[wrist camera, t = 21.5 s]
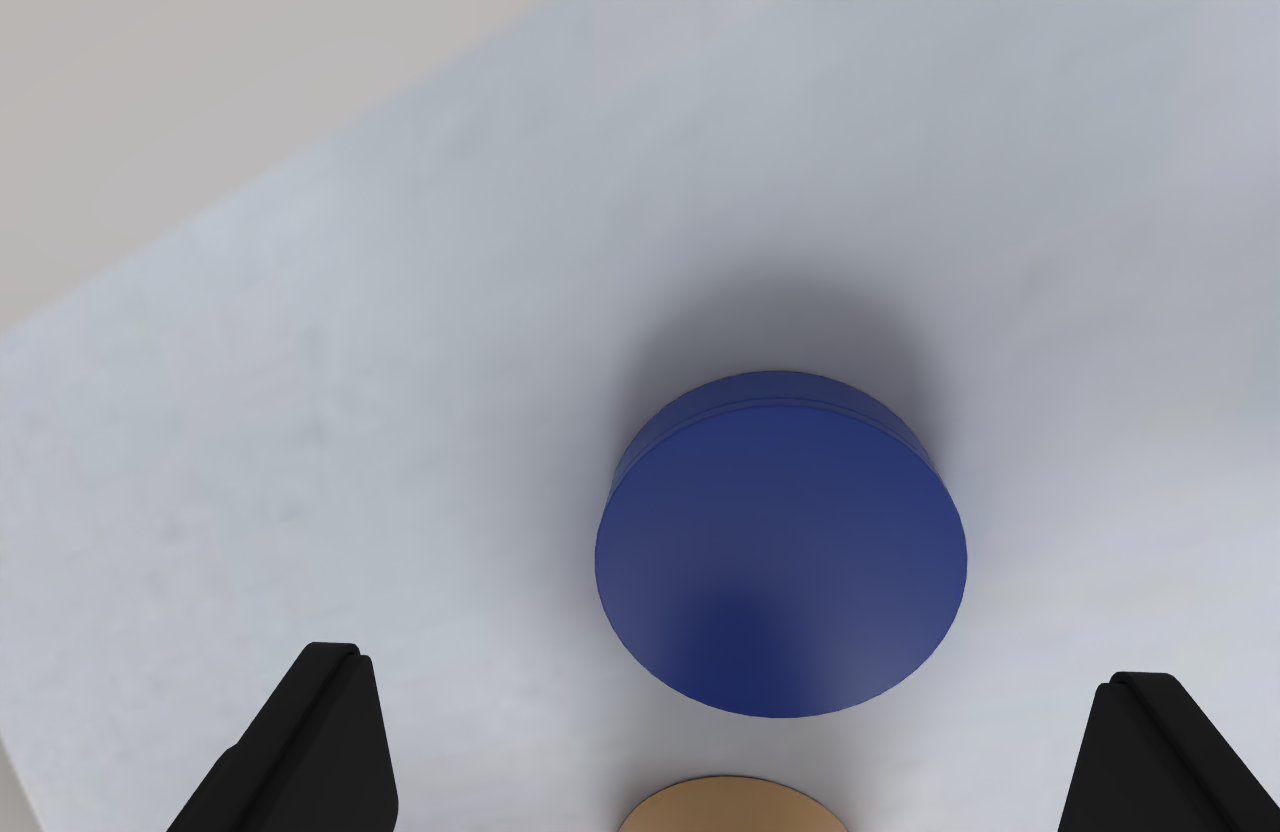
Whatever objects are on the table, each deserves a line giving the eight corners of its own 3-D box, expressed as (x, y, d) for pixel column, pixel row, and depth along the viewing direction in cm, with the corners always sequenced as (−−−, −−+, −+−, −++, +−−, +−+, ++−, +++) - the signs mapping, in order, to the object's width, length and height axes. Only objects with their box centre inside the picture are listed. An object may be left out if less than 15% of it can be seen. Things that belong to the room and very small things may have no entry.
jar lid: (793, 709, 18) (799, 773, 16) (545, 550, 17) (525, 601, 15) (1016, 500, 15) (1052, 550, 14) (740, 300, 14) (741, 327, 13)
